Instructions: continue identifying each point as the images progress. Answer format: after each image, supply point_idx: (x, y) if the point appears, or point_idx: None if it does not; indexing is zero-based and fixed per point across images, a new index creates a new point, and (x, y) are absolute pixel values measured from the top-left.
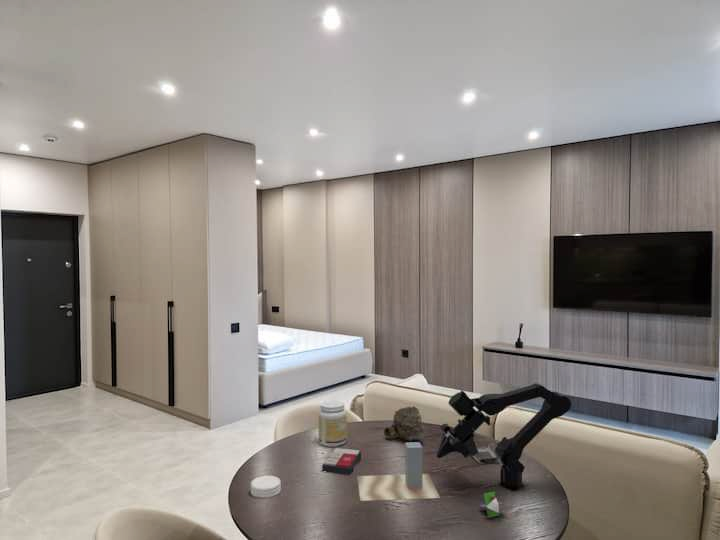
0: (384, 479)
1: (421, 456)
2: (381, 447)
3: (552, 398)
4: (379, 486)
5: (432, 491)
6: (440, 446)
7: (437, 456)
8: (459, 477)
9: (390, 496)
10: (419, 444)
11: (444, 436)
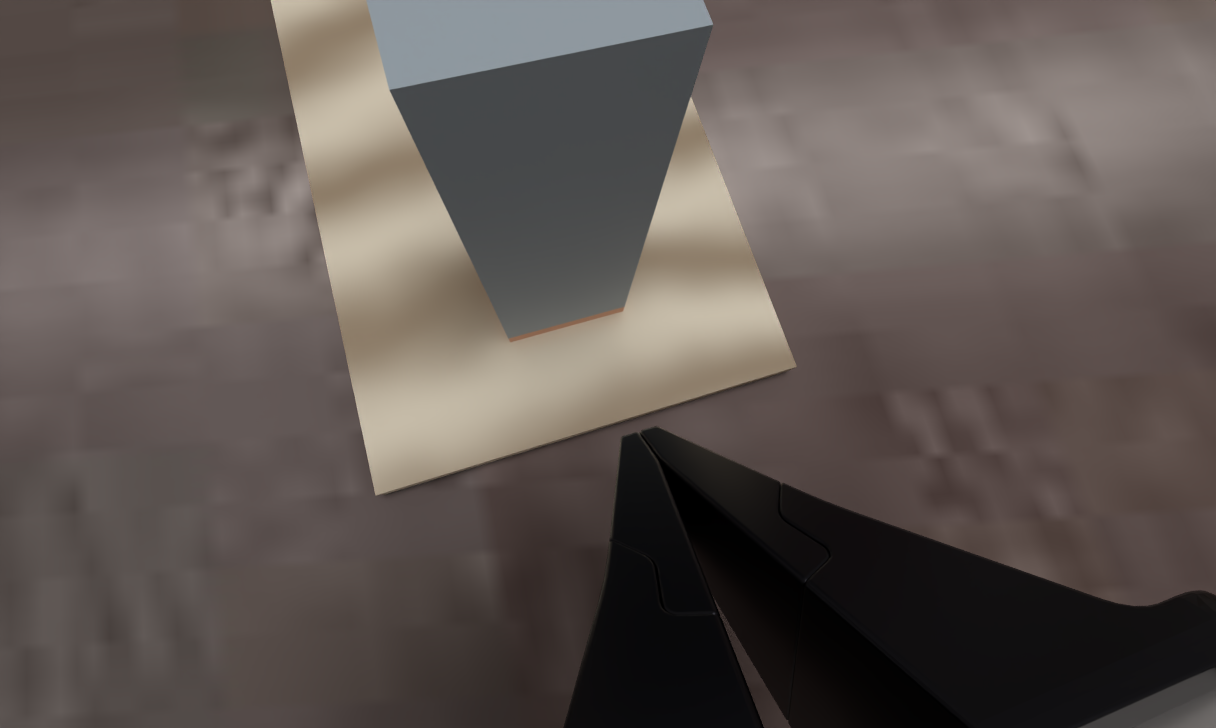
0: None
1: (437, 189)
2: (1154, 9)
3: None
4: None
5: (481, 424)
6: (727, 502)
7: (620, 446)
8: None
9: (348, 132)
10: (573, 29)
11: (990, 713)
